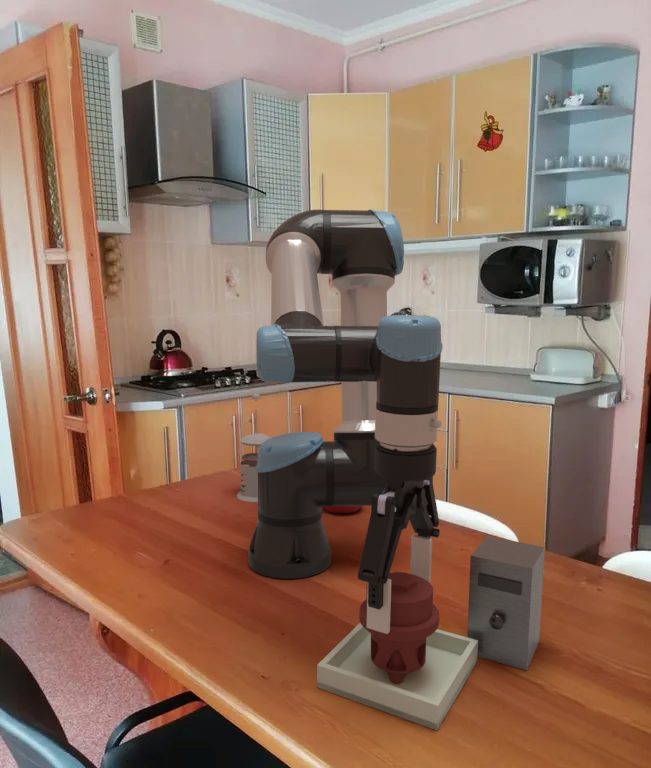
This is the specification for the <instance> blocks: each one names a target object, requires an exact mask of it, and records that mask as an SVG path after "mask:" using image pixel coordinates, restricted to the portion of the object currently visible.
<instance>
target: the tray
mask: <svg viewBox="0 0 651 768" xmlns="http://www.w3.org/2000/svg"><path fill="white" fill-rule="evenodd" d="M477 653H478V640H474V639H471V638H467V637H466V636H463V635H459V634H457V633H453V632H449V631H445V630H442V629H439V628H437V630H436V631H435V632H434V633H433V634H431V635H430V636H428V637H426V661H425V664H424V666H423V667H422V668H420V669H419V670H417V671H415V672H411V673H408V674H407V675H406V676H405V677H404V679H403V682H402V683H400V684H393V683H392V682H391V681H390V679H389V675H388V672H386V671H384V670H382V669H380V668H379V667H377V666H376V665H375V664H374V663H373V662H372V660H371V633H370V632H368V631H367V630H366V629H365V628H364V627H363V626H362V625H361V623H360V622H359V623H358V624H357V625H356V626H354V628H353V629H352V630H351V631H349V633H348V634H347V635H346V636H345V637H344V638H343V639H341V640H340V642H338V643H337V645H336V646H334V648H332V650H331V651H330V652H329V653H328V654H327V655H326V656H324V658H322V660H320V662H318V663H317V665H316V667H317V668H316V670H317V671H316V688H318V689H321V690H323V691H326V692H328V693H332V694H335V695H336V696H337V695H338V696H340V697H343V698H345V699H349V700H351V701H354V702H357V703H359V704H362V705H365V706H368V707H371V708H373V709H376V710H379V711H382V712H384V713H387V714H390V715H393V716H395V717H398V718H401V719H404V720H407V721H410V722H412V723H414V724H418V725H421V726H423V727H426V728H429V729H432V730H434V731H438V729H439V728H440V727H441V724H442V723H443V721H444V719H445V718H446V716H447V715H448V712H449V711H450V709H451V707H452V706H453V704H454V702H455V701H456V699H457V697H458V696H459V693H460V692H461V690H462V689H463V687H464V685H465V683H466V682H467V680H468V678H469V677H470V675H471V673H472V672H473V670H474V668H475V667H476V664H477V663H478V656H477Z"/></svg>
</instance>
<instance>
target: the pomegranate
mask: <svg viewBox="0 0 651 768" xmlns="http://www.w3.org/2000/svg"><path fill="white" fill-rule="evenodd" d="M361 507H362V506H326V507H324V508H325V510H326V511H327V512H330V513H333V514H334V513H335V514H352V513H355V512H356V511H358V510H359V509H360V508H361Z"/></svg>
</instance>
